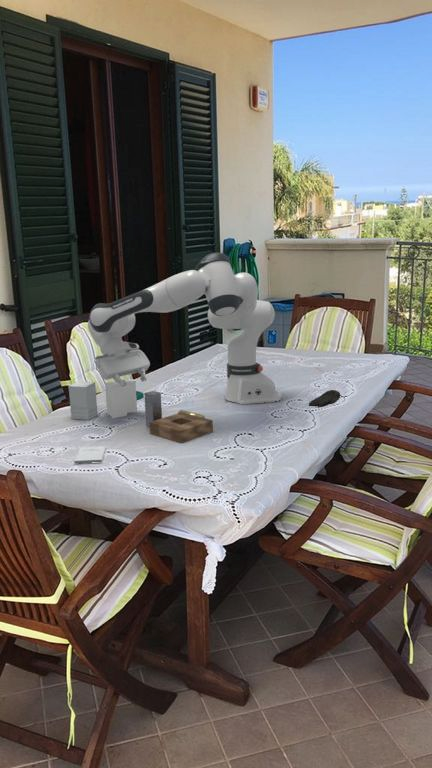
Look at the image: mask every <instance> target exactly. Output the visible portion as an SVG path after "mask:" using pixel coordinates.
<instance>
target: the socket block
mask: <svg viewBox="0 0 432 768" xmlns="http://www.w3.org/2000/svg"><path fill="white" fill-rule="evenodd" d="M213 431H214V423H213V419H209V418H206V417H205V418H202V417H198V416H194V415H191V414H187V413H183V412H181V413H175V414H172V415H169V416H165V417H162V419H158V420H155V421H152V422H150V427H149V434H150V435H153V436H157V437H160V438H163V439H167V440H171V441H172V442H173V441H174V442H177V443H180V444H182V443H184V442H187V441H190V440H193V439H197V438H199V437H201V436H204V435H207V434H210V433H213Z"/></svg>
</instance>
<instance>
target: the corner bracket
mask: <svg viewBox="0 0 432 768" xmlns="http://www.w3.org/2000/svg"><path fill="white" fill-rule="evenodd" d="M124 380H125V382H126V385H125V386H123V387H121V386H120V384H119V383H117V382H116V381H114V380H113V381H109V382H105V383H104V384H105V385H104V387H105V401H106V413H107V415H110V418H112V419H117V418H122V417H123V418H124V417H127V416H128V415H127V414H131V413H137V412H138V400H137V398H136V391H137V383H136V380H135V379H133V378H130V379H124Z"/></svg>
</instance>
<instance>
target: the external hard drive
mask: <svg viewBox="0 0 432 768" xmlns="http://www.w3.org/2000/svg"><path fill="white" fill-rule="evenodd" d="M78 449H79V450H78V452H77V453H76V457H75V459H74V461H73V464H74V463H92V462H102V461H104V458H105V455H104V454H106V451H105V450H107V446H106V445H105V446H104V445H103V446H102V445H99V446H97V445H96V446H83V447H82V446H81V447H79V448H78ZM103 457H104V458H103ZM102 463H103V462H102Z"/></svg>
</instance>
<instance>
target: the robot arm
mask: <svg viewBox="0 0 432 768" xmlns="http://www.w3.org/2000/svg"><path fill="white" fill-rule="evenodd" d="M203 295H205V297H206V301H207V306H208V311H207V319H208V322H209V323H210V325H211V326H212V327H213V328H216V329H221V330H222V329H223V330H237V329H238V330H241V329H242V330H243V331H242V334H240V335H238V336H237V337H235V338H233V339H232V340H230V341H229V342H228V345H227V364H226V377H227V385H226V390H225V395H224V399H225V400H226V401H228V402H233V403H237V404H240V405H251V404H263V403H264V402H265V403H275V401H277V402H279V400H280V401H281V400H282V394H281V393H280V392H279V391H278V390H277V389H276V384H275V382H274V381H273V380H272V379H271V378H270V377H268V376H267V375H266V374H264V373H263V372H262V371H264V370H263V369H264V367H263V366H262V365H261V364H260V363H259V362H256V361H257V346H258V342H259V339H260V336H261V335H262V333H263V332H264V331H265V330H266V329H267V328H268V327H269V328H270V326H271V325H272V324H273V322H274V320H275V314H276V313H275V309H274V307H273V305H272V303H271V302H270V301H267V300H260V299H258V298H259V296H258V295H259V289H258V283H257V280H256V279H255V278H254V276H253V275H252V274H250V273H248V272H239V273H236V274H234V271H233V268H232V263H231V261H230V258H229V257H228V255H227V254H225V253H223V252H212V253H209V254H207V255H205V256H204V257H203V258H202V259H201V260H200V261H199V262H198V263H197V265H196V266H195V269H190V270H185V271H182V272H179V273H177V274H174V275H172V276H170V277H167V278H166V279H163V280H161V281H160V282H158V283H155V284H153V285H151V286H148V287H147V288H145V289H143V290H140V291H137V292H135V293H132V294H129V295H127V296H125V297H122V298H120V299H117V300H115V301H111V302H110V303H101V302H99V303H96V304H94V306H93V307H92V308H91V310H90V313H89V317H88V318H89V319H88V322H87V329H88V332H89V334H90V336H91V338H92V340H93V341H94V343H95V344H96V345H97V346H98V347H99V350H100V353H101V355H97V356H95V358H93V359H94V361H93V363H94V364H95V365H96V368H97V370H98V372H99V375H100V377H101V379H103V380H105V381H107V380H111V379H113V382H114V381H116V382H117V383H119V384H120V386H121V387H123V386H125V385H126V382H125V380H126V379H122V378H121V377H125V376H128V375H133V374H137V373H138V374H139V375H140V376H141V377H140V378H139V380H140V381H141V383H143V382H147V380H148V377H147V376H146V371H148V369H149V367H150V366H151V363H150V360H149V358H148V357H147V355H146V354H145V352H143V351H142V350H141V349H140V346H139V344H138V343H135V342H129V341H128V342H127V341H123V338H124V337H125V336H126V335H127V334H128V333H130V332H131V331H133V330H134V328H135V326H136V323H137V320H136V319H137V317H136V314H138V313H149V312H150V313H171V312H175V311H177V310H180V309H183V308H185V307H187V306H188V305H190V304H192V303H193V302H195V301H197V300H199V298H201V297H202V296H203Z"/></svg>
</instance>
